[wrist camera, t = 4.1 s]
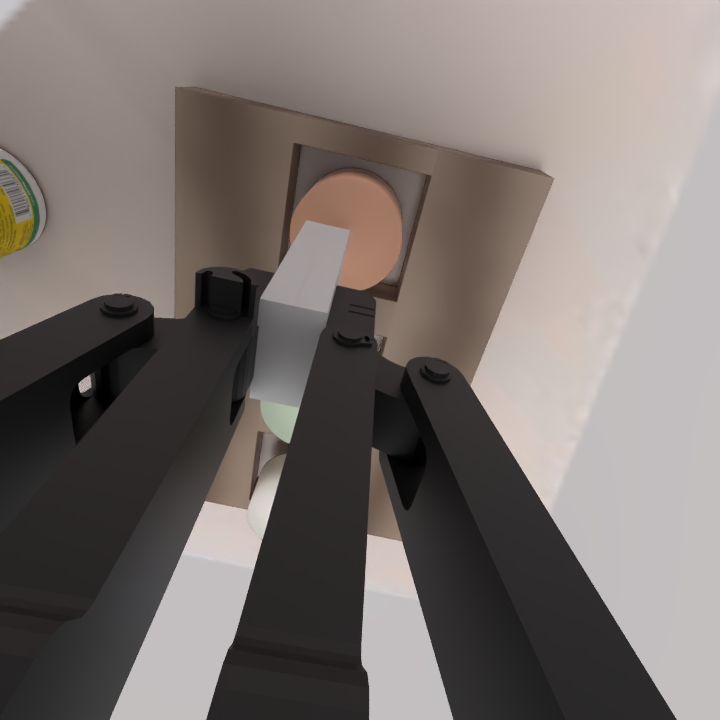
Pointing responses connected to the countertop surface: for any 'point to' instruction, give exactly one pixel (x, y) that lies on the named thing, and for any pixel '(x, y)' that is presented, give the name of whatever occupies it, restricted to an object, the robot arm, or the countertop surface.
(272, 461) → the cream button
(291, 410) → the sage button
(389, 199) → the terracotta button
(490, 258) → the wooden tray
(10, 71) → the countertop surface
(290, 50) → the countertop surface
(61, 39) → the countertop surface
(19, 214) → the supplement bottle
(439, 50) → the countertop surface
